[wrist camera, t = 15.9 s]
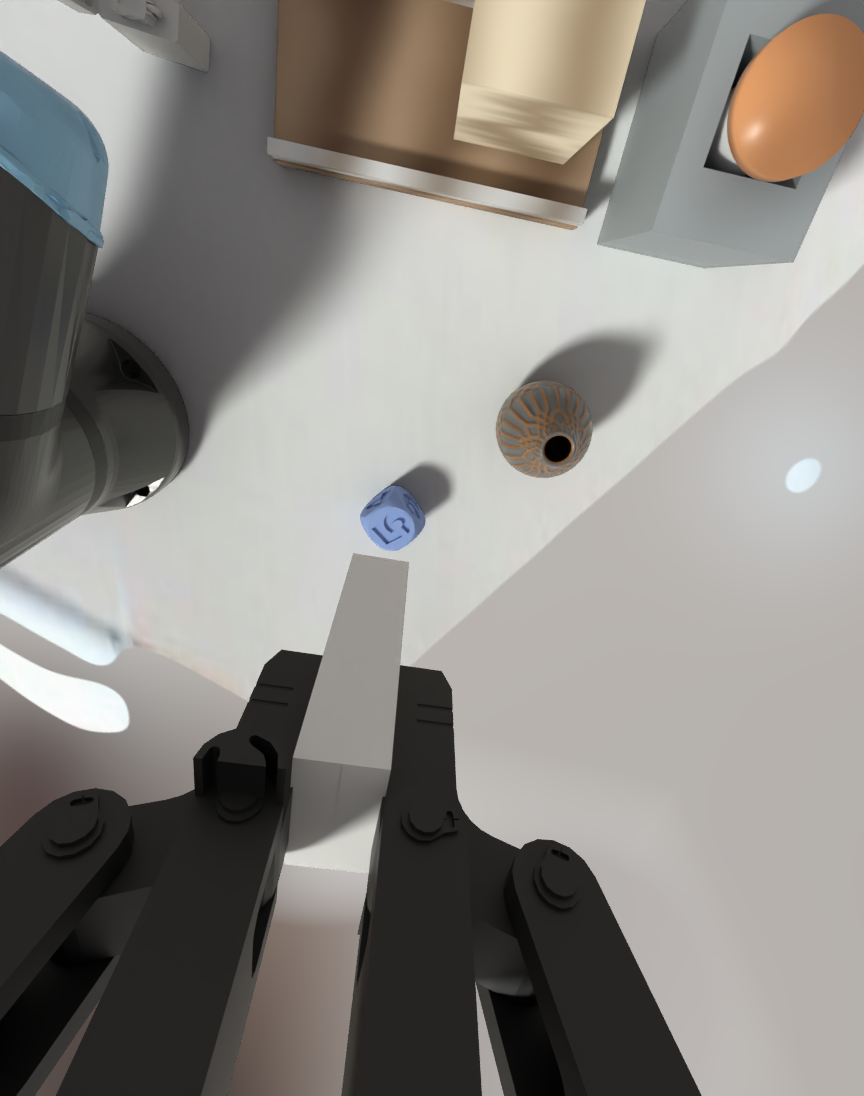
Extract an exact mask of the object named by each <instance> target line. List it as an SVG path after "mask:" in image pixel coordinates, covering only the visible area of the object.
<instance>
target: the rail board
mask: <svg viewBox="0 0 864 1096" xmlns="http://www.w3.org/2000/svg"><path fill="white" fill-rule="evenodd" d="M474 2H475V0H279V6H278V37H277V68H276V100H275V131H274V138H272V137H267V154H269V155H270V156H271V157H272V158H274V161H275V162H276V163H277V164H279V165H280V166H285V167H289V168H294V169H298V170H303V171H307V172H312V173H316V174H321V175H325V176H330V177H334V178H339V179H343V180H348V181H353V182H357V183H362V184H366V185H371V186H375V187H380V188H384V189H389V190H393V191H398V192H402V193H407V194H411V195H416V196H420V197H425V198H429V199H434V200H438V201H443V202H447V203H452V204H456V205H461V206H465V207H470V208H474V209H479V210H483V211H488V212H492V213H497V214H501V215H506V216H510V217H515V218H519V219H524V220H528V221H533V222H538V223H542V224H547V225H551V226H556V227H560V228H565V229H569V230H573V229H576V228H577V227H578V226H579V225H581V224H584V220H585V217H586V213H587V209H586V208H583V204H584V200H585V197H586V193H587V189H588V186H589V182H590V178H591V174H592V171H593V167H594V163H595V159H596V156H597V152H598V148H599V145H600V141H601V137H602V133H603V130H604V127H603V128H602V129H601V130H600V131H599V132H598V133H597V134H595V135H594V136H593V137H592V138H591V139H590V140H589V141H588V142H587V143H586V144H585V145H584V146H583V147H582V148H580V149H579V150H578V151H577V152H576V153H575V154H574V155H573V156H572V157H571V158H570V159H569V160H568V161H566V162H565V163H564V164H559V163H554V162H550V161H546V160H541V159H537V158H533V157H528V156H524V155H520V154H516V153H511V152H507V151H503V150H498V149H494V148H490V147H485V146H481V145H477V144H472V143H468V142H464V141H460V140H455V139H454V133H455V126H456V119H457V112H458V104H459V97H460V90H461V83H462V77H463V71H464V64H465V58H466V52H467V46H468V39H469V33H470V27H471V21H472V15H473V8H474Z"/></svg>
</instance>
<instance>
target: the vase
mask: <svg viewBox="0 0 864 1096" xmlns="http://www.w3.org/2000/svg"><path fill="white" fill-rule="evenodd" d="M496 437H497V442H498V445H499V448H500V450H501V452H502V454H503V456H504V458H505V459H506V460H507V461H508V463H509V464H510V465H511V466H513V467H514V468H515V469H516V470H518V471H520V472H522V473H524V474H526V475H529V476H533V477H538V478H549V477H554V476H558V475H561V474H563V473H565V472H567V471H569V470H570V469H572V468H573V467H574V466H576V465H577V464H578V463H579V462H580V460H581V459H582V458H583V457H584V455H585V453H586V452H587V450H588V447H589V445H590V441H591V437H592V420H591V415H590V412H589V409H588V407H587V405H586V403H585V402H584V400H583V399H582V398H581V397H580V395H579V394H578V393H576V392H575V391H574V390H573V389H571V388H570V387H568V386H566V385H564V384H562V383H558V382H555V381H549V380H541V381H535V382H531V383H528V384H526V385H524V386H522V387H520V388H518V389H517V390H515V391H514V392H513V393H512V394H511V395H510V396H509V397H508V398H507V399H506V401H505V402H504V404H503V405H502V407H501V409H500V412H499V414H498V418H497V422H496Z"/></svg>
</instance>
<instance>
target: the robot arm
mask: <svg viewBox="0 0 864 1096" xmlns="http://www.w3.org/2000/svg"><path fill="white" fill-rule="evenodd" d="M108 167H109V165H108V157H107V153H106V149H105V146H104V143H103V141H102V139H101V137H100V135H99V133H98V131H97V130H96V128H95V126H94V125H93V124H92V122H91V121H90V120H89V118H88V117H87V116H86V115H85V114H84V113H83V112H82V111H81V110H80V109H79V108H78V107H77V106H76V105H74V104H73V103H72V102H71V101H69V100H68V99H67V98H65V97H64V96H63V95H61V94H60V93H59V92H57V91H56V90H55V89H53V88H52V87H51V86H49V85H48V84H46V83H45V82H44V81H42V80H41V79H39V78H38V77H37V76H35V75H34V74H33V73H31V72H30V71H28V70H27V69H25V68H24V67H23V66H21V65H20V64H18V63H17V62H16V61H14V60H13V59H11V58H10V57H9V56H7V55H6V54H4V53H3V52H2V51H0V568H2V567H3V566H5V565H6V564H8V563H9V562H11V561H12V560H14V559H16V558H17V557H19V556H20V555H22V554H23V553H25V552H26V551H28V550H29V549H31V548H32V547H34V546H35V545H37V544H38V543H40V542H41V541H43V540H44V539H46V538H47V537H49V536H50V535H52V534H53V533H55V532H56V531H58V530H59V529H61V528H62V527H64V526H65V525H67V524H68V523H70V522H71V521H73V520H74V519H76V518H77V517H79V516H80V515H85V514H92V513H98V512H105V511H111V510H118V509H123V508H128V507H131V506H134V505H136V504H139V503H141V502H143V501H145V500H147V499H149V498H150V497H152V496H153V495H155V494H156V493H157V492H159V491H160V490H161V489H163V488H164V487H165V486H167V485H168V484H169V483H170V482H171V481H172V480H173V479H174V477H175V476H176V475H177V473H178V472H179V470H180V469H181V467H182V465H183V462H184V460H185V457H186V454H187V449H188V443H189V424H188V417H187V413H186V409H185V405H184V402H183V399H182V397H181V394H180V392H179V390H178V388H177V386H176V384H175V382H174V380H173V379H172V377H171V375H170V374H169V372H168V371H167V369H166V368H165V367H164V365H163V364H162V363H161V361H160V360H159V359H158V358H157V357H156V356H155V355H154V353H153V352H152V351H151V350H150V349H149V348H148V347H146V346H145V345H144V344H143V343H142V342H141V341H140V340H138V339H137V338H136V337H135V336H133V335H132V334H130V333H129V332H127V331H126V330H124V329H123V328H121V327H119V326H117V325H116V324H114V323H112V322H110V321H107V320H105V319H103V318H100V317H98V316H95V315H91V314H88V313H85V309H86V304H87V299H88V294H89V290H90V285H91V280H92V275H93V271H94V266H95V261H96V256H97V252H98V247H100V248H103V243H104V240H103V236H102V234H101V232H100V227H101V220H102V213H103V206H104V199H105V192H106V185H107V178H108ZM408 567H409V562H404V561H398V560H392V559H385V558H379V557H373V556H367V555H360V554H354V553H353V556H352V560H351V563H350V566H349V570H348V573H347V576H346V580H345V583H344V587H343V590H342V593H341V597H340V600H339V603H338V607H337V610H336V614H335V617H334V620H333V624H332V627H331V630H330V634H329V637H328V640H327V644H326V647H325V651H324V654H323V656H322V655H315V654H308V653H301V652H294V651H287V650H281V651H280V652H278V653H277V654H276V655H275V656H274V657H273V658H272V659H270V660H269V661H268V662H267V663H266V664H265V665H264V667H263V670H262V672H261V674H260V676H259V679H258V681H257V684H256V687H255V688H254V690H253V692H252V694H251V697H250V700H249V702H248V703H247V706H246V708H245V710H244V713H243V715H242V717H241V719H240V721H239V724H238V726H237V728H236V729H234V730H230V731H227V732H224V733H221V734H218V735H217V736H215V737H214V738H212V739H211V740H209V741H208V742H207V743H205V744H204V745H203V746H202V747H201V748H200V750H199V751H198V752H197V754H196V755H195V756H194V758H193V761H194V783H195V789H194V790H192V791H190V792H188V793H186V794H184V795H181V796H178V797H175V798H171V799H167V800H162V801H157V802H151V803H146V804H140V805H134V806H128V804H127V802H126V800H125V799H124V798H123V797H121V796H120V795H118V794H117V793H115V792H114V791H109V790H103V789H97V788H95V789H89V790H82V791H76V792H73V793H70V794H68V795H66V796H63V797H61V798H59V799H56V800H54V801H52V802H51V803H50V804H48V805H47V806H46V807H44V808H43V809H42V810H40V811H39V812H37V813H36V814H35V815H33V817H31V818H30V819H29V820H28V821H27V822H26V823H25V824H24V825H23V826H22V827H21V828H20V829H19V830H18V831H16V833H14V834H13V835H12V836H11V837H10V838H9V839H8V840H7V841H6V842H5V843H4V844H3V845H2V846H1V847H0V1096H35V1094H36V1093H37V1091H38V1090H39V1089H40V1087H41V1085H42V1084H43V1083H44V1081H45V1080H46V1078H47V1077H48V1075H49V1074H50V1072H51V1071H52V1069H53V1068H54V1066H55V1065H56V1063H57V1062H58V1060H59V1059H60V1058H61V1056H62V1055H63V1053H64V1052H65V1050H66V1049H67V1047H68V1046H69V1044H70V1043H71V1041H72V1040H73V1038H74V1037H75V1035H76V1034H77V1032H78V1031H79V1030H80V1028H81V1027H82V1025H83V1024H84V1022H85V1020H86V1019H87V1018H88V1016H89V1015H90V1013H91V1012H92V1010H93V1009H94V1007H95V1006H96V1004H97V1003H98V1002H99V1000H100V1002H99V1004H98V1006H97V1008H96V1010H95V1013H94V1015H93V1017H92V1019H91V1021H90V1023H89V1025H88V1028H87V1030H86V1032H85V1034H84V1036H83V1038H82V1040H81V1043H80V1045H79V1047H78V1049H77V1051H76V1054H75V1056H74V1058H73V1060H72V1062H71V1064H70V1066H69V1069H68V1071H67V1073H66V1075H65V1077H64V1080H63V1081H62V1084H61V1086H60V1088H59V1090H58V1092H57V1094H56V1096H227V1095H228V1091H229V1087H230V1083H231V1079H232V1075H233V1071H234V1067H235V1063H236V1059H237V1055H238V1051H239V1047H240V1043H241V1039H242V1035H243V1031H244V1028H245V1023H246V1019H247V1016H248V1012H249V1008H250V1004H251V999H252V996H253V992H254V988H255V984H256V980H257V976H258V972H259V968H260V964H261V960H262V956H263V952H264V948H265V944H266V940H267V936H268V932H269V928H270V924H271V920H272V916H273V912H274V908H275V904H276V897H277V884H278V880H279V877H280V873H281V869H282V865H283V861H284V864H287V865H297V866H305V867H315V868H325V869H333V870H343V871H351V872H361V873H369V876H368V885H367V893H366V898H365V902H364V907H363V912H362V916H361V921H360V925H359V930H358V935H360V939H359V948H358V956H357V965H356V973H355V982H354V991H353V1001H352V1008H351V1018H350V1026H349V1034H348V1043H347V1052H346V1061H345V1070H344V1079H343V1088H342V1095H341V1096H482V1091H481V1074H480V1057H479V1039H478V1022H477V1005H476V988H475V982H476V985H477V989H478V993H479V997H480V1001H481V1005H482V1009H483V1013H484V1017H485V1021H486V1025H487V1029H488V1033H489V1037H490V1041H491V1045H492V1049H493V1053H494V1057H495V1061H496V1065H497V1069H498V1073H499V1077H500V1081H501V1085H502V1089H503V1093H504V1096H701V1094H700V1092H699V1090H698V1087H697V1085H696V1083H695V1081H694V1079H693V1077H692V1075H691V1073H690V1071H689V1069H688V1067H687V1065H686V1063H685V1061H684V1059H683V1057H682V1055H681V1053H680V1050H679V1048H678V1046H677V1044H676V1042H675V1040H674V1038H673V1036H672V1034H671V1032H670V1030H669V1028H668V1026H667V1024H666V1022H665V1020H664V1017H663V1016H662V1013H661V1012H660V1009H659V1007H658V1005H657V1003H656V1001H655V999H654V997H653V995H652V993H651V991H650V989H649V987H648V985H647V982H646V980H645V978H644V976H643V974H642V972H641V970H640V968H639V966H638V964H637V962H636V960H635V958H634V956H633V954H632V952H631V950H630V947H629V946H628V943H627V942H626V939H625V937H624V935H623V933H622V931H621V929H620V927H619V925H618V923H617V921H616V919H615V917H614V915H613V913H612V910H611V908H610V906H609V904H608V903H607V900H606V898H605V896H604V894H603V892H602V890H601V888H600V886H599V884H598V882H597V880H596V878H595V876H594V874H593V873H592V871H591V870H590V868H589V867H588V866H587V864H586V863H585V861H584V860H583V859H582V858H581V857H580V856H579V855H577V854H576V853H575V852H574V851H573V850H572V849H571V848H569V847H567V846H565V845H562V844H560V843H558V842H556V841H553V840H541V839H537V840H535V841H532V842H530V843H527V844H525V845H524V846H523V847H522V848H521V849H518V848H516V847H514V846H511V845H510V844H507V843H505V842H503V841H501V840H499V839H497V838H494V837H492V836H490V835H489V834H487V833H485V832H484V831H482V830H480V829H479V828H478V827H477V826H476V825H475V824H474V823H472V822H471V820H470V819H469V818H468V816H467V815H466V814H465V812H464V811H463V809H462V807H461V805H460V802H459V800H458V795H457V790H456V773H455V772H456V771H455V752H454V730H453V712H452V689H451V687H450V685H449V683H448V682H447V680H446V678H445V676H444V675H443V673H442V671H436V670H429V669H423V668H416V667H409V666H402V665H400V659H401V648H402V636H403V625H404V613H405V601H406V590H407V578H408ZM284 857H285V858H284Z"/></svg>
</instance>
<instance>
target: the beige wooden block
mask: <svg viewBox="0 0 864 1096" xmlns="http://www.w3.org/2000/svg"><path fill="white" fill-rule="evenodd" d="M645 2H646V0H475V2H474V8H473V15H472V21H471V27H470V33H469V39H468V46H467V52H466V58H465V64H464V71H463V77H462V83H461V90H460V97H459V104H458V112H457V119H456V126H455V133H454V139H455V140H460V141H464V142H468V143H472V144H477V145H481V146H485V147H490V148H494V149H498V150H503V151H507V152H511V153H516V154H520V155H524V156H528V157H533V158H537V159H541V160H546V161H550V162H554V163H559V164H564V163H565V162H566V161H568V160H569V159H570V158H571V157H572V156H573V155H574V154H575V153H576V152H577V151H578V150H579V149H580V148H582V147H583V146H584V145H585V144H586V143H587V142H588V141H589V140H590V139H591V138H592V137H593V136H594V135H595V134H597V133H598V132H599V131H600V130H601V129H602V128H603V127H604V126H605V125H606V124H607V123H608V122H609V121H611V120H612V119H613V118H614V116H615V112H616V108H617V105H618V101H619V97H620V94H621V90H622V86H623V83H624V79H625V75H626V72H627V68H628V64H629V61H630V57H631V53H632V50H633V46H634V42H635V39H636V35H637V31H638V28H639V24H640V20H641V17H642V13H643V9H644V6H645Z"/></svg>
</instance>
